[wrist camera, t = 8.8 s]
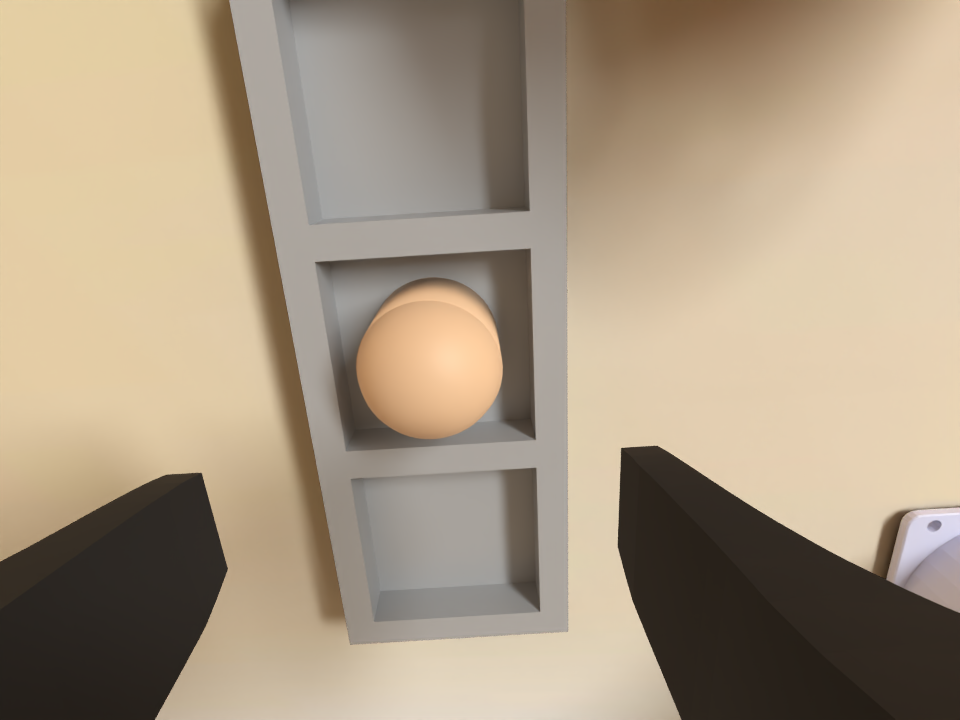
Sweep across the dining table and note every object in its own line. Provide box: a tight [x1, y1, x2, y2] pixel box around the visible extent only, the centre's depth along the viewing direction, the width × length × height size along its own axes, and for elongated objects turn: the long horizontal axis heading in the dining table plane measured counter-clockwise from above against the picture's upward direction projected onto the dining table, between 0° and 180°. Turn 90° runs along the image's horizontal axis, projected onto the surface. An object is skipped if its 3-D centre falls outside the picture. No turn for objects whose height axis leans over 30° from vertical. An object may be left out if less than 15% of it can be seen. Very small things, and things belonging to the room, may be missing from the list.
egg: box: [356, 277, 503, 439], centre depth 15 cm, size 4×4×4 cm
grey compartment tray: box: [229, 0, 568, 645], centre depth 17 cm, size 8×22×2 cm, turn 3°
